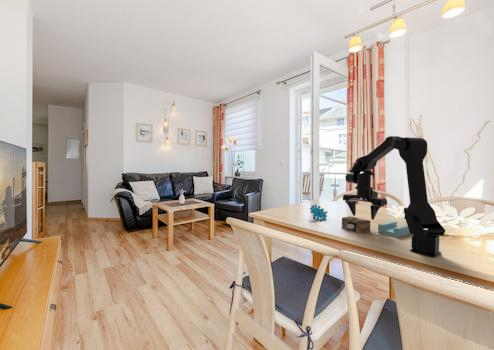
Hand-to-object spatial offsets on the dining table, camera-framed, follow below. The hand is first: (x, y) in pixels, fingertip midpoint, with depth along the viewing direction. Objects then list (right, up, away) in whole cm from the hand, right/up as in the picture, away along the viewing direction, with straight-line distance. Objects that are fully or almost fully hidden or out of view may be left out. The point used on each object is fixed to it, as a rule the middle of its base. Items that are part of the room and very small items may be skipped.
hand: (363, 217), depth 105 cm
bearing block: (-5, -5, -2) cm, 7 cm away
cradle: (+10, -5, -8) cm, 14 cm away
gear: (-15, -4, +16) cm, 23 cm away
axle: (-3, -5, -2) cm, 6 cm away
